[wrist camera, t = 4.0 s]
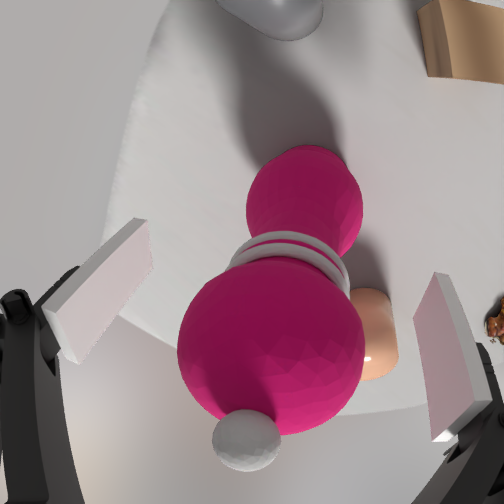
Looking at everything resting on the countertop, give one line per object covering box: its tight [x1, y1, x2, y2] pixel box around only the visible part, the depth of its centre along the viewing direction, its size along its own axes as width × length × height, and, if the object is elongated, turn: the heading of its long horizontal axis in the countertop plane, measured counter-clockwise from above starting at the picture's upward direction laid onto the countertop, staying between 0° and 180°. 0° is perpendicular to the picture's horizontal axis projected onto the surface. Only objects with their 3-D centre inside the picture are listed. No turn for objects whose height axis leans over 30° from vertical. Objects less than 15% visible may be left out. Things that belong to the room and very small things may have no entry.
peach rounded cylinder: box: [349, 288, 399, 381], centre depth 25 cm, size 6×6×6 cm
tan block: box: [417, 0, 504, 84], centre depth 12 cm, size 5×5×5 cm
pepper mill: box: [177, 145, 365, 472], centre depth 15 cm, size 7×7×20 cm
